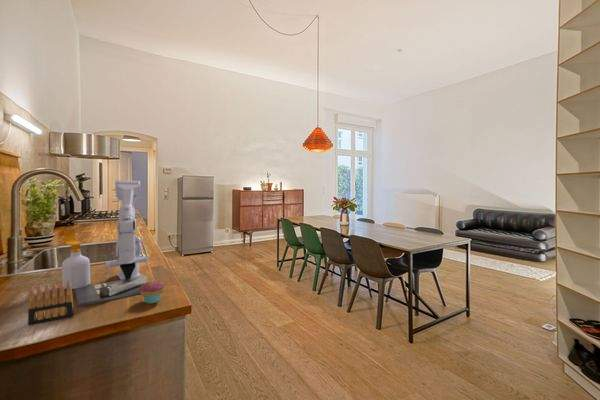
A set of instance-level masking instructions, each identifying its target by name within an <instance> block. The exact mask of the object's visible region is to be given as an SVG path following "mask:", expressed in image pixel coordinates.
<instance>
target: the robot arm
mask: <svg viewBox="0 0 600 400" xmlns="http://www.w3.org/2000/svg"><path fill="white" fill-rule="evenodd" d="M114 182H115V184H114V186H115V187H114V190H115V195H116V200H118V201H121V202H122V206H121V207H119V210H118V212H119V213H118V221H117V223H116V233H117V240H116V241H115V242H116V244H115V256H116V257H117V258H118V259H116V260H115V259H114V260H112V261H107V262H105V268H106V269H110V268H114V267H119V273H117V276H118V278H119V280H123V279H129V278H132V277H135V276H138V275H141V273H140V272H139V264H140V263H148V261H149V259H148V257H147V256H141V255H142V242H141V241H142V239H141V238H140V237H138V235H136V233H137V221H136V208H135V203H136V201H138V200H140V197H141V181H139V180H116V181H114Z"/></svg>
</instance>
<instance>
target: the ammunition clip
mask: <svg viewBox="0 0 600 400" xmlns="http://www.w3.org/2000/svg"><path fill="white" fill-rule="evenodd" d="M28 289H29V290H28V300H27V305H28V311H27V313H28V315H27V326H28V327H30V326H34V325H40V324H45V323H50V322H55V321H60V320H61V321H62V320H66V319H70V318H73V317H74V315H75V314H74V304H73V302H74V301H73V299H74V298H73V291H72V290H73V289H71V283H70V281H69V280H68V282H67V286H66V289H64V284H63V281H60V283H59V288H58V287H57V284H56V282H55V281H54V282H53V283H52V288H51V291H50V286H49V283H48V282H47V283H45V286H44V295H43V289H42V285H41V284H37V288H36V297H35V289H34V286H33V285H32V284H31V285H30V286H29V288H28ZM58 290H59V291H58ZM65 290H66V291H65Z"/></svg>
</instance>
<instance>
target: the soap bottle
mask: <svg viewBox="0 0 600 400" xmlns="http://www.w3.org/2000/svg"><path fill="white" fill-rule="evenodd" d="M81 228H83V226H76V227H71V228H68V229H66V230H64V243H65V245H66V246H71V248H72V249H71V250H70V256H69V257H67V258H66V259H65V260H63V261H62V263H61V273H62V274H61V275H62V276H61V278H62V279H61V280H62V282H63V284H64V290H66V286H67V282H68V280H69V281H70V283H71V290H75V288H80V287H85V286H90V284H91V261H90V259H89V258H88V256H87V257H86V256H84V255H82V252H81V251H82V250H81V249H80V248H79V247H81V246H80V245H84V244H85V243H84V242H81V241H79V242H78V241H76V231H77V230H79V229H81Z"/></svg>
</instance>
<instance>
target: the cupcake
mask: <svg viewBox="0 0 600 400" xmlns="http://www.w3.org/2000/svg"><path fill="white" fill-rule="evenodd" d="M145 274H146V275H145V276H147V282H145V283H144V285H142V286H141V287H140V288H139V292H140V294H139V295H141V296H142V298H143V300H144V303H146V304H154V303H158V302H159V301H160V299H161V297H162V294H163V293H164V292H165V291H166V286H165V283H164V282H162V281H158V280H151V281H150V274H149V271H148V269H145Z"/></svg>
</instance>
